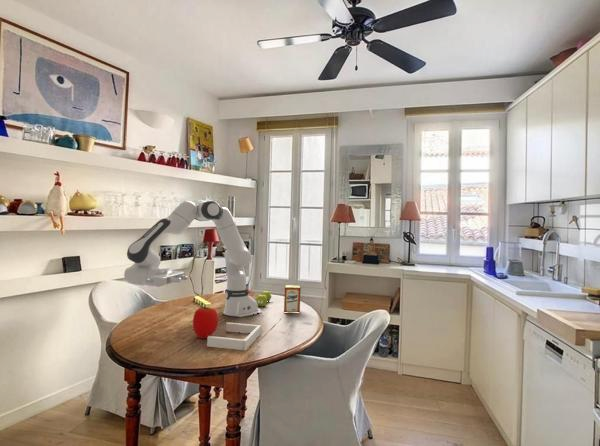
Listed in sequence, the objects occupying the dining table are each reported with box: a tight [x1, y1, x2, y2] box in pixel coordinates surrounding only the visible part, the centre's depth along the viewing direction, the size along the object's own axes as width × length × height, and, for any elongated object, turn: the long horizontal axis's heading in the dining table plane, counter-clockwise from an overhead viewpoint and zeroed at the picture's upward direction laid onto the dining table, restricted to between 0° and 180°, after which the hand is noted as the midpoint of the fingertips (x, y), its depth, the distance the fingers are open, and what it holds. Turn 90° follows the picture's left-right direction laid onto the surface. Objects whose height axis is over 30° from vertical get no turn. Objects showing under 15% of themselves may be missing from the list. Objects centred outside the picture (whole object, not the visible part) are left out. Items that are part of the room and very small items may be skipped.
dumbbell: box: [254, 290, 272, 307], centre depth 220 cm, size 16×8×7 cm, turn 172°
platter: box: [193, 295, 212, 308], centre depth 211 cm, size 32×32×3 cm
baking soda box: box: [283, 284, 301, 313], centre depth 202 cm, size 10×6×16 cm
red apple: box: [192, 306, 219, 340], centre depth 154 cm, size 13×11×14 cm
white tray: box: [206, 322, 262, 351], centre depth 152 cm, size 18×22×4 cm
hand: (183, 279), depth 157 cm, fingers open, 5 cm apart
